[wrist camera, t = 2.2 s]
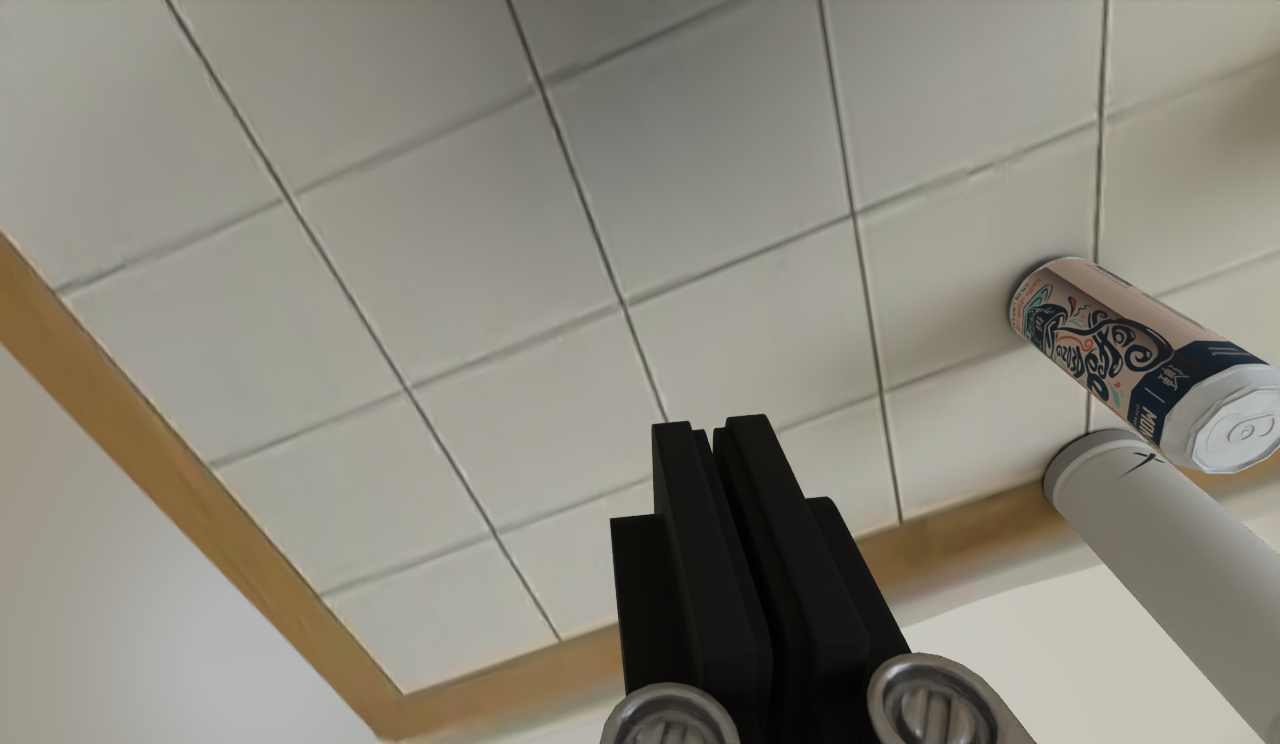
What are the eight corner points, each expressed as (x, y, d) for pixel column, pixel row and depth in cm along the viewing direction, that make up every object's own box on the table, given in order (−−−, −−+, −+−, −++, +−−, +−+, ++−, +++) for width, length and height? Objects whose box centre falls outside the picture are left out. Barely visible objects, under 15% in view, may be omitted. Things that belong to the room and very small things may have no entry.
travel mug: (1109, 406, 40) (1518, 741, 23) (1160, 460, 43) (1560, 797, 26) (1018, 474, 42) (1331, 828, 25) (1072, 522, 45) (1388, 871, 28)
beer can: (1006, 266, 35) (1192, 397, 24) (1100, 241, 34) (1329, 363, 24) (1002, 347, 37) (1170, 496, 27) (1091, 324, 37) (1294, 466, 27)
